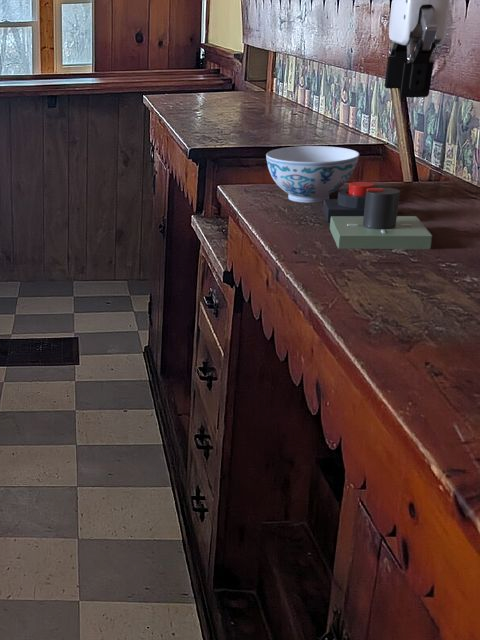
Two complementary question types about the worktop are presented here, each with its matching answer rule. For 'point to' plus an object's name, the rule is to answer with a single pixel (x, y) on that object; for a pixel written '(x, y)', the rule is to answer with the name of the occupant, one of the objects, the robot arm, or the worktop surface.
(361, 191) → the button
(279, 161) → the chinaware
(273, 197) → the worktop surface
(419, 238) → the console
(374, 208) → the dark grey cylinder
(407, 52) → the robot arm
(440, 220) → the worktop surface
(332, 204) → the switch block
